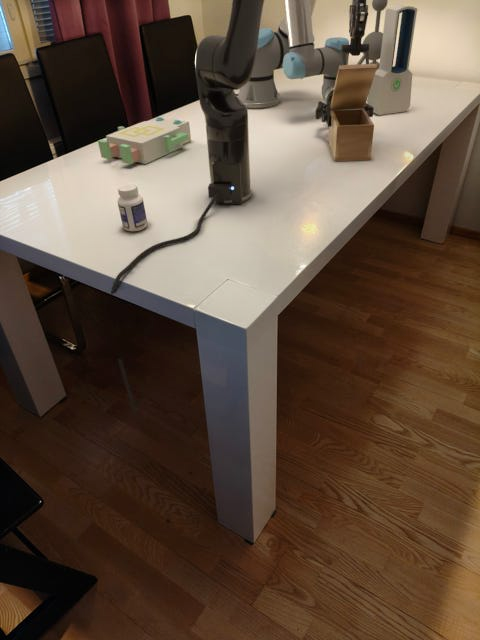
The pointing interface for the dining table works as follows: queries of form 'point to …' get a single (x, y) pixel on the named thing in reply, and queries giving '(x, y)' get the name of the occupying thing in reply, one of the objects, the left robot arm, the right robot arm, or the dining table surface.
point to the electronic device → (396, 81)
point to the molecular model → (375, 35)
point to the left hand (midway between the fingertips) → (354, 54)
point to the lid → (353, 81)
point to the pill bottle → (131, 208)
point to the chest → (350, 135)
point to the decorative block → (146, 140)
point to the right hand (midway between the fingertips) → (348, 121)
